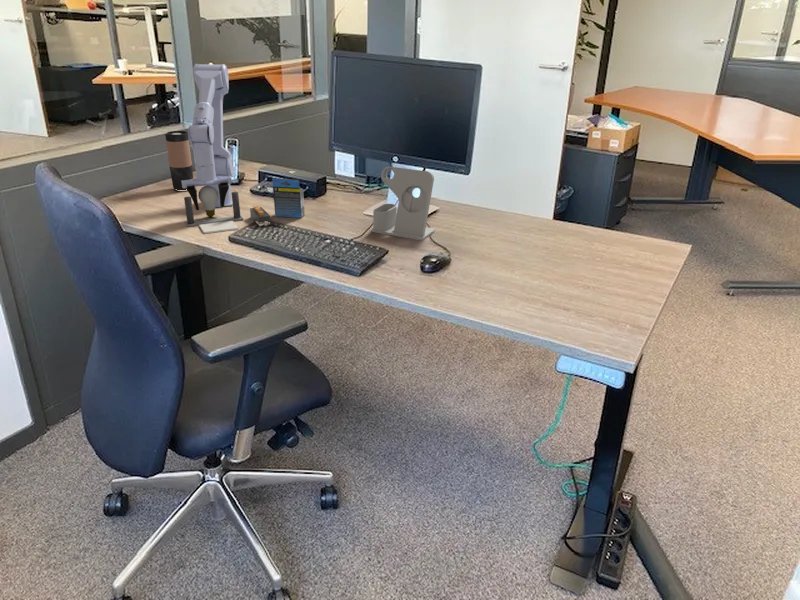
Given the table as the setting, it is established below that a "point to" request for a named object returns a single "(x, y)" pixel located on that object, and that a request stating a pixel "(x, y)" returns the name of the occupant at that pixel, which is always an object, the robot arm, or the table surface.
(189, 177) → the travel mug
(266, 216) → the terminal block
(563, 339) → the table surface
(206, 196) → the light bulb
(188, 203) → the cable posts
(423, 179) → the phone holder
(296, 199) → the blue retail box
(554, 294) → the table surface
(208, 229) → the mat
